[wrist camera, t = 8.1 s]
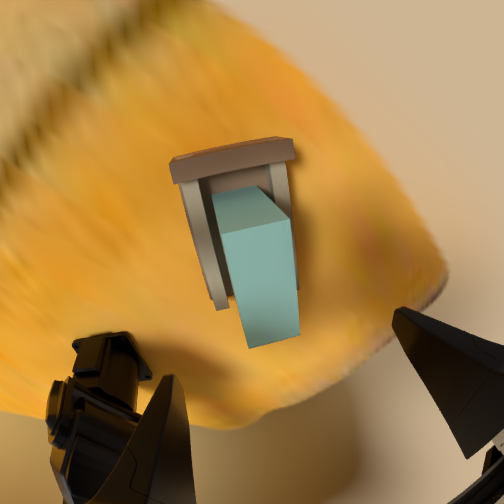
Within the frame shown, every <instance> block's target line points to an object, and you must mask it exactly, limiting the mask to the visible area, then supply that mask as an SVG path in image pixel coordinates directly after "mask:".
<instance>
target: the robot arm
mask: <svg viewBox="0 0 504 504" xmlns="http://www.w3.org/2000/svg"><path fill="white" fill-rule="evenodd" d="M392 328H393V330H394V332H395V334H396V336H397V338H398V340H399V342H400V344H401V346H402V348H403V350H404V352H405V353H406V355H407V357H408V359H409V360H410V362H411V364H412V365H413V367H414V368H415V370H416V371H417V373H418V374H419V376H420V378H421V379H422V381H423V382H424V384H425V386H426V388H427V389H428V391H429V393H430V394H431V396H432V398H433V399H434V401H435V403H436V404H437V406H438V408H439V410H440V411H441V413H442V415H443V417H444V418H445V420H446V422H447V424H448V425H449V427H450V429H451V431H452V433H453V435H454V437H455V439H456V441H457V443H458V444H459V446H460V448H461V450H462V452H463V454H464V456H465V458H466V459H469V458H470V457H471V456H473V455H474V454H475V453H476V452H478V451H479V450H480V449H481V448H483V447H484V446H485V445H486V444H487V443H488V442H490V441H491V440H492V441H493V443H494V445H493V446H492V447H491V448H490V449H489V450H488V451H487V452H486V457H485V461H484V466H483V471H482V476H481V477H480V478H479V479H477V480H476V481H475V482H474V483H473V484H472V485H470V486H469V487H468V488H467V489H466V490H465V491H463V492H462V493H461V494H459V495H458V496H457V497H456V498H454V499H453V500H451V501H450V502H449V503H447V504H504V345H500V344H497V343H494V342H491V341H488V340H485V339H483V338H480V337H478V336H475V335H473V334H470V333H468V332H465V331H462V330H460V329H458V328H456V327H453V326H451V325H448V324H446V323H443V322H441V321H438V320H436V319H434V318H431V317H429V316H426V315H424V314H421V313H419V312H417V311H414V310H412V309H409V308H407V307H404V306H402V307H400V308H397V309H395V311H394V315H393V320H392ZM122 337H124V338H122ZM72 347H73V349H74V350H75V351H76V353H77V357H76V360H75V363H74V366H73V370H72V372H73V373H74V375H73V378H71V377H70V376H68V377H67V379H66V380H65V381H64V382H63V381H56V380H54V382H53V384H52V387H51V390H50V393H49V396H48V400H47V408H46V419H45V421H46V423H47V425H48V440H49V443H50V444H51V445H53V447H52V452H51V456H50V464H51V467H52V470H53V473H54V476H55V478H56V481H57V483H58V486H59V488H60V491H61V493H62V496H63V504H196V496H195V488H194V478H193V468H192V457H191V444H190V429H189V421H188V415H187V410H186V404H185V398H184V392H183V388H182V386H181V384H180V382H179V381H178V379H177V377H176V376H175V375H174V374H168V375H164V376H163V377H162V379H161V381H160V383H159V385H158V387H157V389H156V390H155V392H154V394H153V396H152V398H151V400H150V402H149V404H148V406H147V407H146V409H145V411H144V413H143V415H141V414H138V413H136V408H137V396H138V385H139V381H145V380H151V379H152V376H153V374H152V372H151V371H150V369H149V368H148V366H147V365H146V363H145V361H144V360H143V358H142V357H141V355H140V353H139V352H138V350H137V348H136V347H135V345H134V343H133V342H132V340H131V338H130V337H129V335H128V334H127V333H125V332H120V333H115V334H109V335H103V336H97V337H91V338H85V339H79V340H74V341H73V343H72ZM147 375H148V376H147Z"/></svg>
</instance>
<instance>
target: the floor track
mask: <svg viewBox="0 0 504 504" xmlns="http://www.w3.org/2000/svg"><path fill="white" fill-rule="evenodd" d="M293 159H295V152H294V145H293V139H290V138H283V137H269V138H263V139H257V140H251V141H246V142H240V143H235V144H230V145H225V146H220V147H215V148H211V149H206V150H202V151H197V152H193V153H189V154H185V155H181V156H177V157H173V159H172V160H171V161H170V163H169V167H170V172H171V176H172V180H173V184H179V188H180V192H181V196H182V200H183V204H184V208H185V212H186V216H187V219H188V223H189V227H190V231H191V234H192V238H193V241H194V245H195V249H196V252H197V256H198V259H199V262H200V266H201V269H202V273H203V276H204V279H205V283H206V286H207V289H208V292H209V296H210V299H211V300H213V302H214V305H215V308H216V311H219V310H223V309H227V308H230V307H229V303H228V298H227V296H231V295H234V292H233V288H232V284H231V280H230V275H229V271H228V267H227V263H226V258H225V254H224V250H223V245H222V241H221V237H220V232H219V228H218V223H217V219H216V214H215V210H214V205H213V200H212V196H211V195H212V194H216V193H221V192H225V191H230V190H235V189H239V188H244V187H249V186H254V185H256V186H257V187H258V188H259V189H260V190H261V191H262V192H263V193H264V194H265V195H266V196H267V197H268V198H269V199H270V200H271V201H272V202H273V203H274V204H275V205H276V206H277V207H278V208H279V209H280V210H281V211H282V212H283V213H284V214H285V215H286V216H287V217H288V218H289V219H290V225H291V234H292V244H293V254H294V264H295V275H296V287H297V290H299V278H298V267H297V256H296V246H295V237H294V228H293V219H292V210H291V202H290V194H289V186H288V178H287V171H286V164H285V161H287V160H293Z"/></svg>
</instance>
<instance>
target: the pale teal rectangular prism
mask: <svg viewBox="0 0 504 504" xmlns="http://www.w3.org/2000/svg"><path fill="white" fill-rule="evenodd" d="M211 196H212V200H213V205H214V210H215V214H216V219H217V223H218V228H219V232H220V237H221V241H222V245H223V250H224V254H225V258H226V263H227V267H228V271H229V275H230V280H231V284H232V288H233V292H234V295H235V299H236V303H237V307H238V311H239V315H240V318H241V322H242V326H243V329H244V333H245V337H246V341H247V344H248V348H249V349H251V348H254V347H258V346H262V345H266V344H270V343H273V342H277V341H281V340H284V339H288V338H291V337H295V336H298V335H300V326H299V312H298V299H297V287H296V275H295V264H294V254H293V244H292V234H291V225H290V219H289V218H288V217H287V216H286V215H285V214H284V213H283V212H282V211H281V210H280V209H279V208H278V207H277V206H276V205H275V204H274V203H273V202H272V201H271V200H270V199H269V198H268V197H267V196H266V195H265V194H264V193H263V192H262V191H261V190H260V189H259V188H258V187H257V186H256V185H254V186H249V187H244V188H239V189H235V190H230V191H225V192H221V193H216V194H212V195H211Z"/></svg>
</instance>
